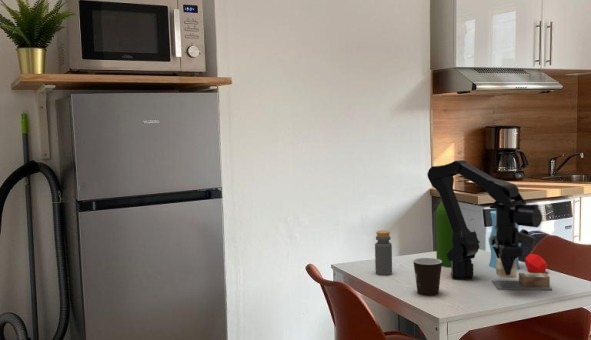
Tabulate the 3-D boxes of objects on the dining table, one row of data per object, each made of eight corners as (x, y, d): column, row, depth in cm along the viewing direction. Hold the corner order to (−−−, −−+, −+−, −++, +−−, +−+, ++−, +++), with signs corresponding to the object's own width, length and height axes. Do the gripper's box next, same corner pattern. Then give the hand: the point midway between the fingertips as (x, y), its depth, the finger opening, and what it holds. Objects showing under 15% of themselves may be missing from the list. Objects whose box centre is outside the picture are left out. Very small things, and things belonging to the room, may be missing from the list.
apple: (553, 258, 187) (536, 246, 194) (537, 264, 185) (520, 251, 192) (551, 274, 190) (534, 262, 197) (534, 280, 189) (518, 267, 195)
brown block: (522, 286, 173) (522, 276, 173) (518, 282, 178) (518, 272, 178) (549, 286, 172) (549, 277, 172) (545, 282, 177) (545, 273, 177)
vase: (501, 270, 194) (501, 214, 192) (488, 265, 202) (488, 211, 200) (521, 268, 196) (521, 213, 194) (507, 263, 203) (507, 209, 202)
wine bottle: (464, 266, 201) (463, 177, 199) (439, 267, 201) (438, 178, 199) (457, 261, 210) (456, 175, 207) (434, 261, 210) (432, 176, 208)
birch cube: (499, 277, 172) (499, 261, 172) (496, 273, 177) (496, 258, 177) (516, 277, 171) (516, 261, 171) (512, 273, 176) (512, 258, 176)
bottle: (373, 275, 194) (372, 232, 193) (377, 270, 199) (376, 229, 198) (390, 276, 192) (389, 233, 190) (393, 271, 197) (393, 230, 196)
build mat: (497, 289, 172) (497, 288, 172) (492, 281, 181) (492, 280, 181) (552, 290, 170) (552, 289, 170) (543, 282, 179) (543, 281, 179)
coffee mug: (437, 298, 165) (436, 265, 165) (409, 294, 170) (409, 262, 169) (448, 288, 175) (448, 257, 174) (422, 285, 180) (421, 254, 179)
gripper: (541, 229, 163) (541, 281, 164) (525, 218, 181) (525, 265, 182) (502, 229, 164) (502, 280, 166) (489, 218, 183) (490, 265, 184)
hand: (506, 272), depth 174 cm, fingers closed on birch cube, 5 cm apart
